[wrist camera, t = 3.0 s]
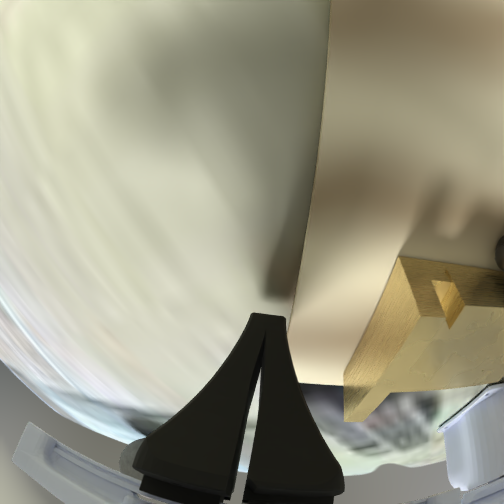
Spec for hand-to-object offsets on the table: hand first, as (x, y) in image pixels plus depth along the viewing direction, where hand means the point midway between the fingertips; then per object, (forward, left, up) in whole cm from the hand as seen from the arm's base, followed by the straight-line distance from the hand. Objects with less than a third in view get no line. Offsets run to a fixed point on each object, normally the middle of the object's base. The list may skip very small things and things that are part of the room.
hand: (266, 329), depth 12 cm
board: (+5, -14, -1) cm, 15 cm away
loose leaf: (0, -11, -1) cm, 11 cm away
